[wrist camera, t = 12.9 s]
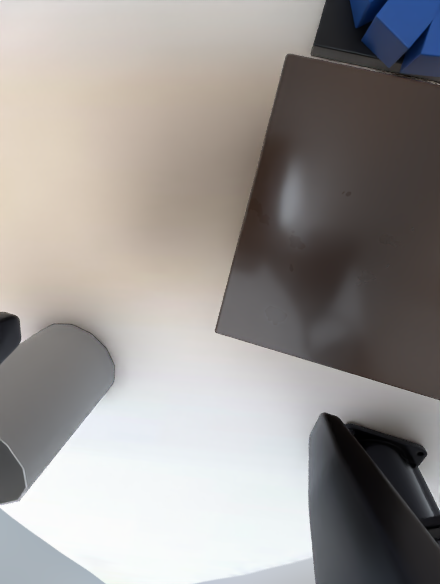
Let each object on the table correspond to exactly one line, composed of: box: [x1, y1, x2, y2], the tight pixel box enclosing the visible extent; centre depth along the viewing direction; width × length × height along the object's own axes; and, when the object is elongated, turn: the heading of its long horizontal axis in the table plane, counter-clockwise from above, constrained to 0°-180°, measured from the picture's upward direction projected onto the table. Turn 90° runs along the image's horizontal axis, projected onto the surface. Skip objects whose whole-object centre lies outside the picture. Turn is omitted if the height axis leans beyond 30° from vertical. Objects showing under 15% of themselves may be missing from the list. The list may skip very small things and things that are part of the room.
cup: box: [0, 324, 114, 505], centre depth 22 cm, size 8×8×10 cm
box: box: [215, 54, 440, 400], centre depth 14 cm, size 10×10×8 cm
